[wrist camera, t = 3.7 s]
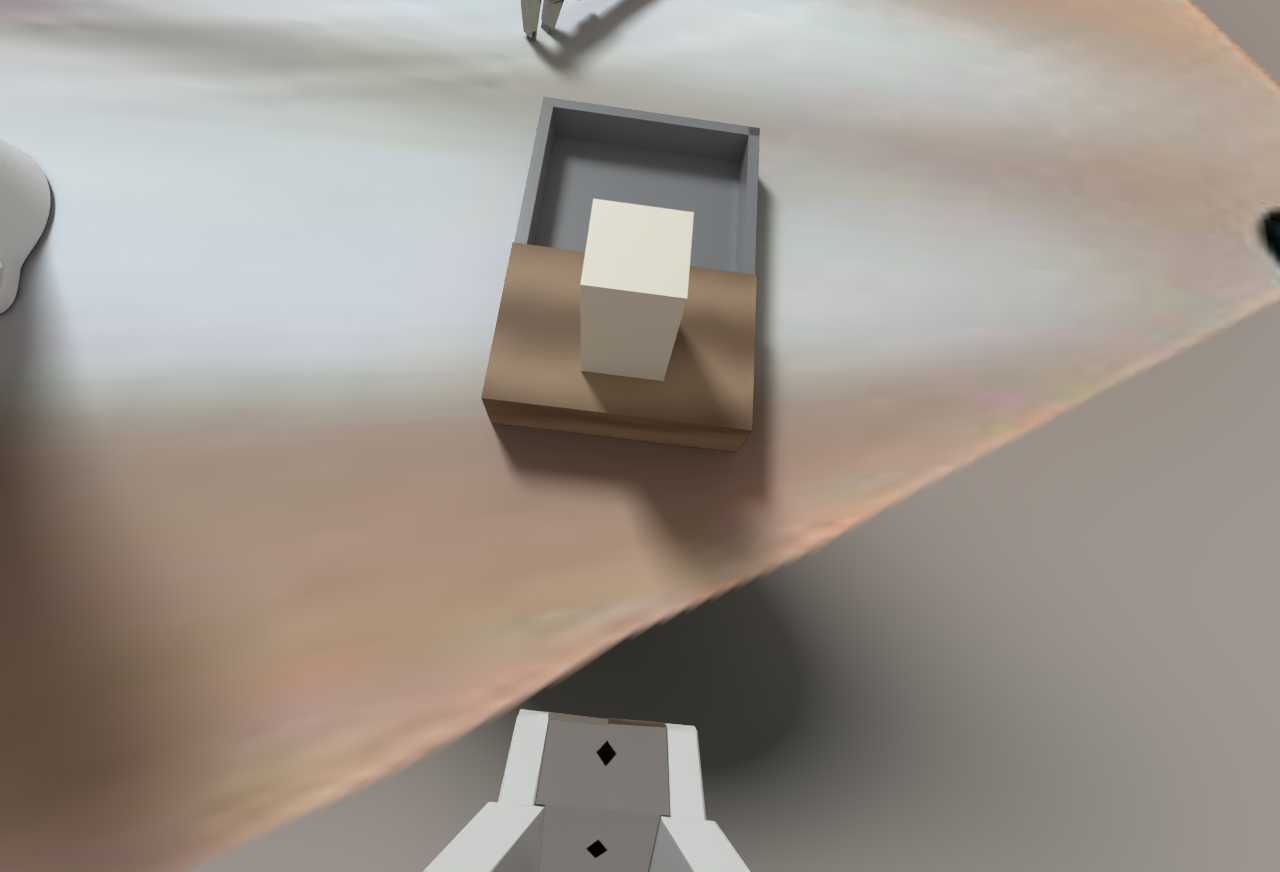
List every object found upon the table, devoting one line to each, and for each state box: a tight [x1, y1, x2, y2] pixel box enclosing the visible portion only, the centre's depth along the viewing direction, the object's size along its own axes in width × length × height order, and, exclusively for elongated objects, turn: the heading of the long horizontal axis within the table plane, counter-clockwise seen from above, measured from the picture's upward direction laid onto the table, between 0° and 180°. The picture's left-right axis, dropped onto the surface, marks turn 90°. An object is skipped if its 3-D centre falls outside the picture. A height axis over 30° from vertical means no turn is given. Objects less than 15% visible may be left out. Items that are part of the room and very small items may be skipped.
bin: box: [514, 97, 760, 275], centre depth 44 cm, size 13×16×4 cm
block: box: [580, 198, 694, 381], centre depth 33 cm, size 5×5×9 cm
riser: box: [481, 242, 757, 452], centre depth 40 cm, size 11×16×4 cm
